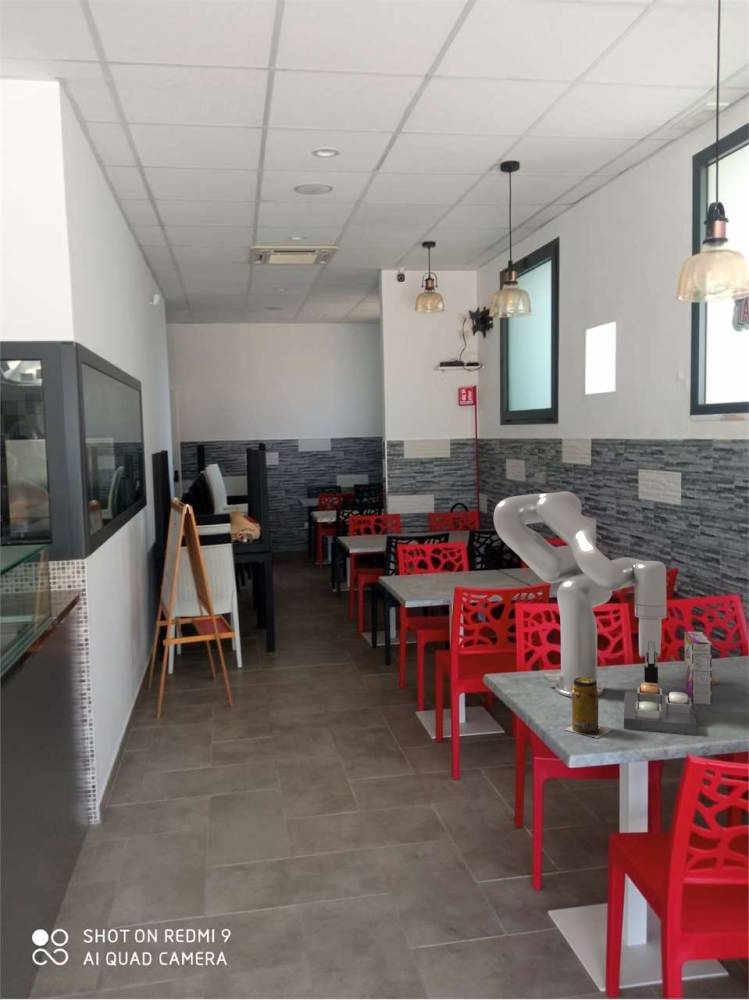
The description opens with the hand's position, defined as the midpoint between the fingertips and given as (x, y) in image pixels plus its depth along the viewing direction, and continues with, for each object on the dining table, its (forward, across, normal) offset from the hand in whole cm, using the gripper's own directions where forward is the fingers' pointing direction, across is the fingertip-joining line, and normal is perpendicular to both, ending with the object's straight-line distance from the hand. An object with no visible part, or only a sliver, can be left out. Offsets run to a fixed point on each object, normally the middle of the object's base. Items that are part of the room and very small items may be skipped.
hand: (651, 681), depth 198 cm
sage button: (+4, +12, -1) cm, 13 cm away
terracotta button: (+3, 0, 0) cm, 3 cm away
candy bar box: (+7, -11, +12) cm, 18 cm away
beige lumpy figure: (+7, -25, +14) cm, 29 cm away
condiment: (+7, +19, -14) cm, 25 cm away
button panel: (+7, +6, +2) cm, 9 cm away
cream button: (+3, +6, +6) cm, 9 cm away
